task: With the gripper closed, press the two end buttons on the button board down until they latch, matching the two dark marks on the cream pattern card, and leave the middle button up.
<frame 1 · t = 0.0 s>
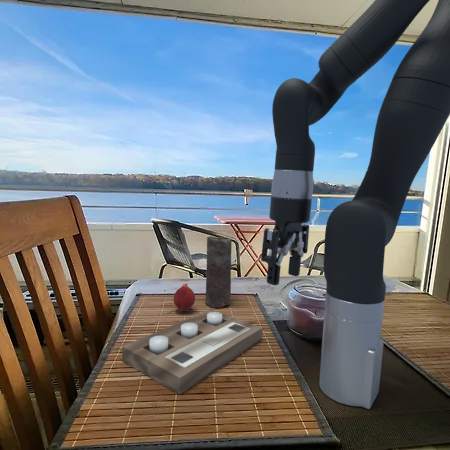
hand: (283, 279, 63), 17 cm above the table, tool pointing down, fingers open, 8 cm apart
button middle: (189, 331, 71), point 3 cm above the table, slide at 0.0 cm
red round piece: (184, 312, 90), on the table
candle: (217, 304, 97), on the table
button left: (158, 345, 64), point 3 cm above the table, slide at 0.0 cm
button board: (197, 349, 70), on the table
button right: (214, 319, 77), point 3 cm above the table, slide at 0.0 cm
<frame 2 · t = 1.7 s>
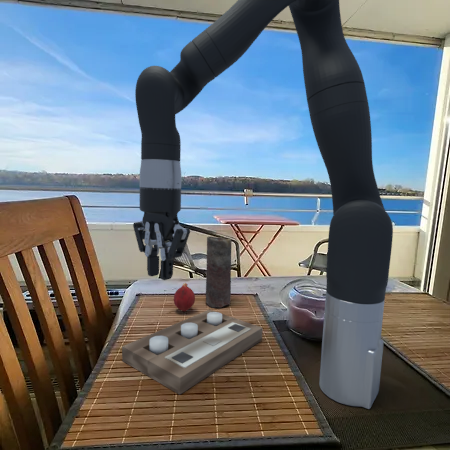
hand: (159, 276, 62), 17 cm above the table, tool pointing down, fingers open, 3 cm apart
nothing on the table moved.
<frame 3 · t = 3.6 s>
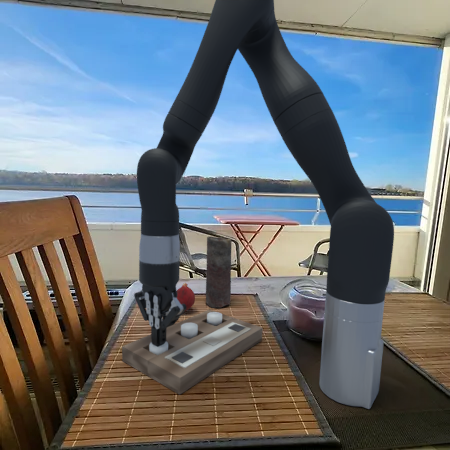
hand: (158, 344, 64), 4 cm above the table, tool pointing down, fingers closed
button left: (158, 350, 64), point 2 cm above the table, slide at 0.9 cm, touching gripper
everything else where it was.
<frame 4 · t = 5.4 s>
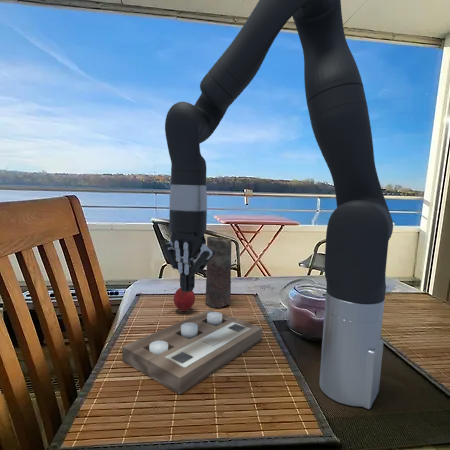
hand: (187, 290, 68), 13 cm above the table, tool pointing down, fingers closed
button left: (158, 350, 64), point 2 cm above the table, slide at 1.0 cm
everything else where it was.
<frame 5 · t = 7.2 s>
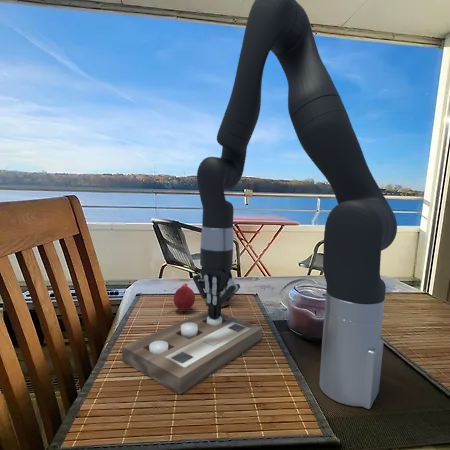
hand: (214, 318, 78), 4 cm above the table, tool pointing down, fingers closed
button right: (214, 323, 78), point 2 cm above the table, slide at 0.9 cm, touching gripper
everything else where it was.
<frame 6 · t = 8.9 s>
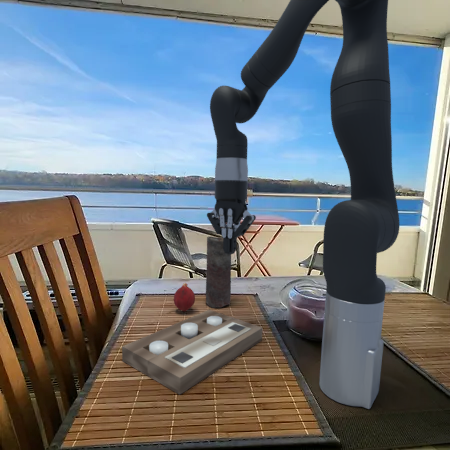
hand: (229, 253, 77), 19 cm above the table, tool pointing down, fingers closed
button right: (214, 324, 78), point 2 cm above the table, slide at 1.0 cm
everything else where it was.
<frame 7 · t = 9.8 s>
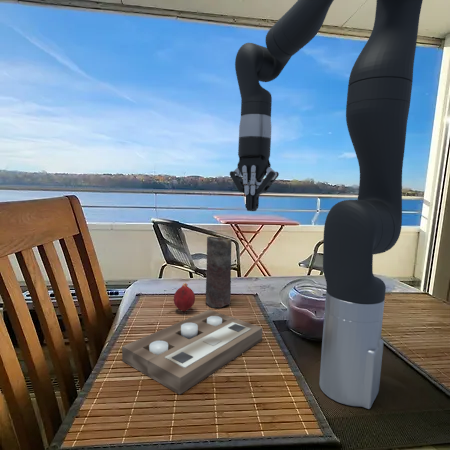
hand: (251, 210, 79), 29 cm above the table, tool pointing down, fingers closed
nothing on the table moved.
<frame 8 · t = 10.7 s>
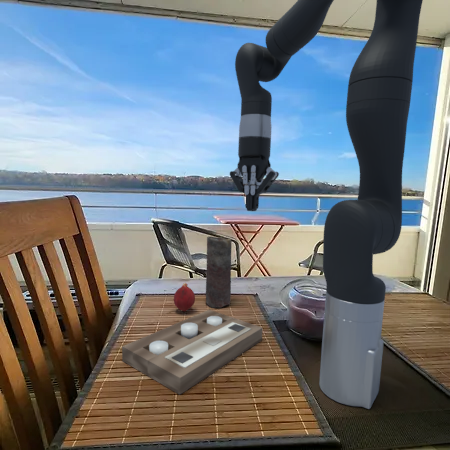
hand: (251, 210, 79), 29 cm above the table, tool pointing down, fingers closed
nothing on the table moved.
at the end: button left slide at 1.0 cm; button right slide at 1.0 cm; button middle slide at 0.0 cm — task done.
